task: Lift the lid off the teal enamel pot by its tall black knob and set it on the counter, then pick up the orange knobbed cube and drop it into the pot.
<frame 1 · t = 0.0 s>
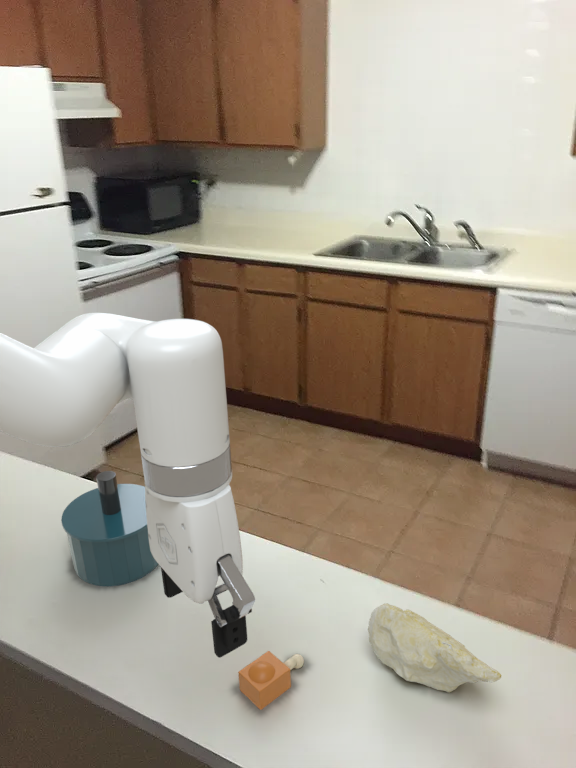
hand: (204, 618, 64), 20 cm above the countertop, tool pointing down, fingers open, 9 cm apart
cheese: (437, 675, 82), on the countertop
pot: (119, 558, 104), on the countertop
orange knobbed cube: (269, 687, 81), on the countertop
lid: (112, 512, 101), point 8 cm above the countertop, touching pot
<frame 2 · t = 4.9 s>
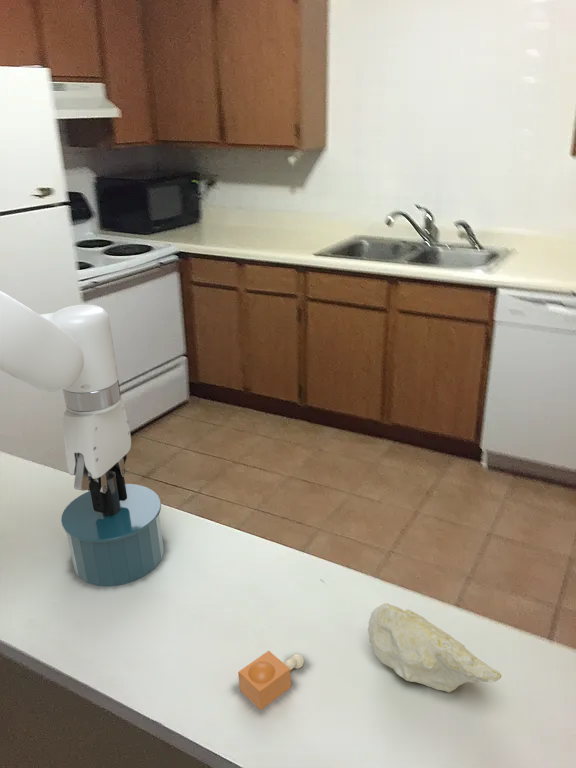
hand: (110, 504, 100), 10 cm above the countertop, tool pointing down, fingers closed on lid, 2 cm apart
lid: (112, 512, 101), point 9 cm above the countertop, touching gripper, pot
everything else where it was.
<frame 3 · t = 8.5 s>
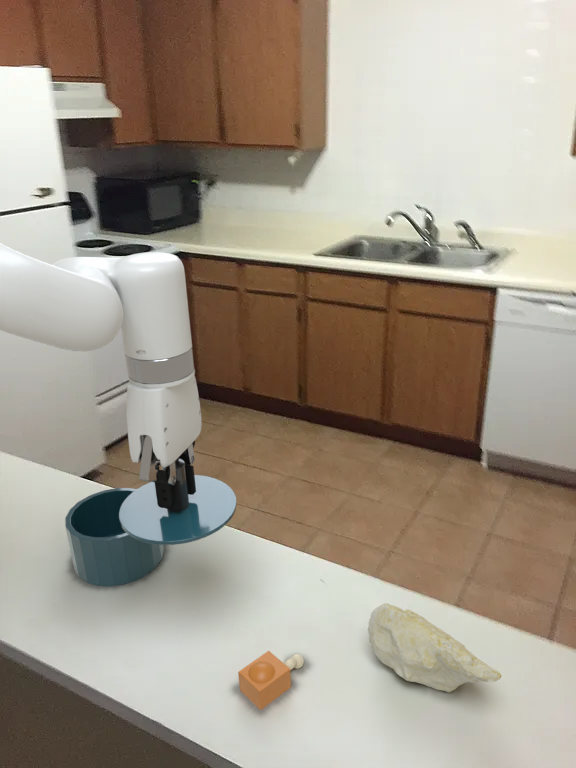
hand: (177, 498, 83), 20 cm above the countertop, tool pointing down, fingers closed on lid, 2 cm apart
lid: (178, 508, 84), point 18 cm above the countertop, touching gripper
everything else where it was.
when the fingers open (2 cm above the countertop, at t = 12.5 s): lid stays where it is, point 1 cm above the countertop.
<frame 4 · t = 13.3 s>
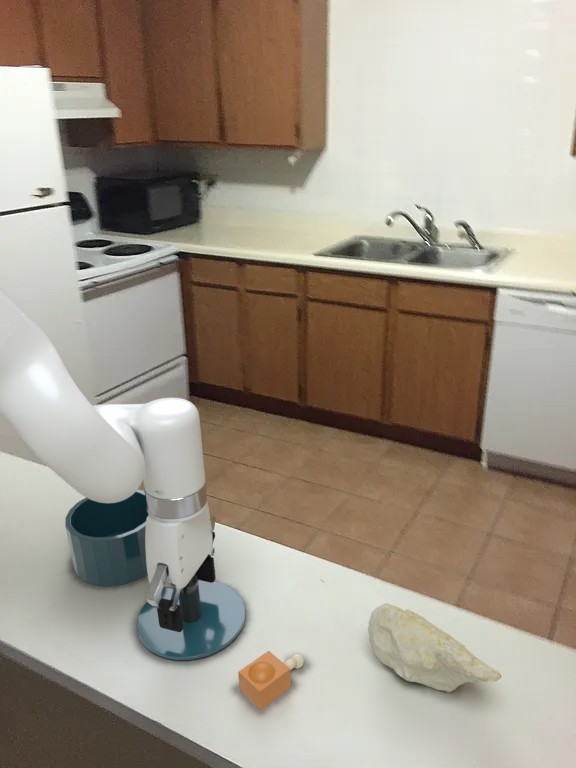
hand: (188, 602, 90), 3 cm above the countertop, tool pointing down, fingers open, 9 cm apart
lid: (191, 618, 91), point 1 cm above the countertop
everything else where it was.
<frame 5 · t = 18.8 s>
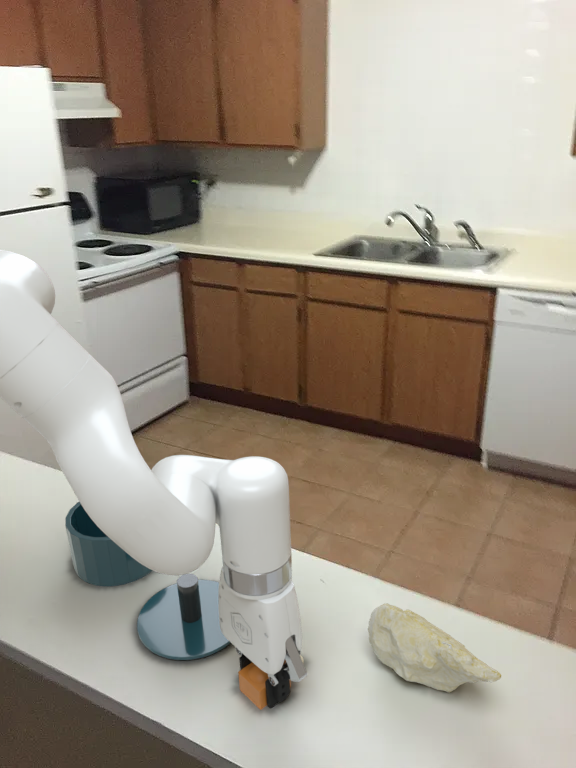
hand: (265, 686, 80), 1 cm above the countertop, tool pointing down, fingers closed on orange knobbed cube, 4 cm apart
orange knobbed cube: (269, 687, 81), on the countertop, touching gripper
everything else where it was.
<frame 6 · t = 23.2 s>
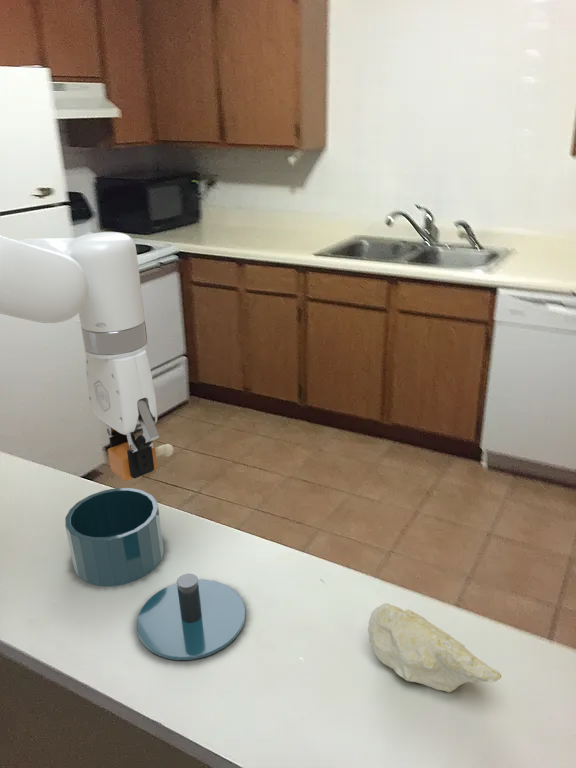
hand: (133, 465, 89), 21 cm above the countertop, tool pointing down, fingers closed on orange knobbed cube, 4 cm apart
orange knobbed cube: (138, 467, 89), point 21 cm above the countertop, touching gripper
everything else where it was.
when the fingers open (7 cm above the countertop, at t = 27.8 s): orange knobbed cube drops 6 cm, resting on pot.
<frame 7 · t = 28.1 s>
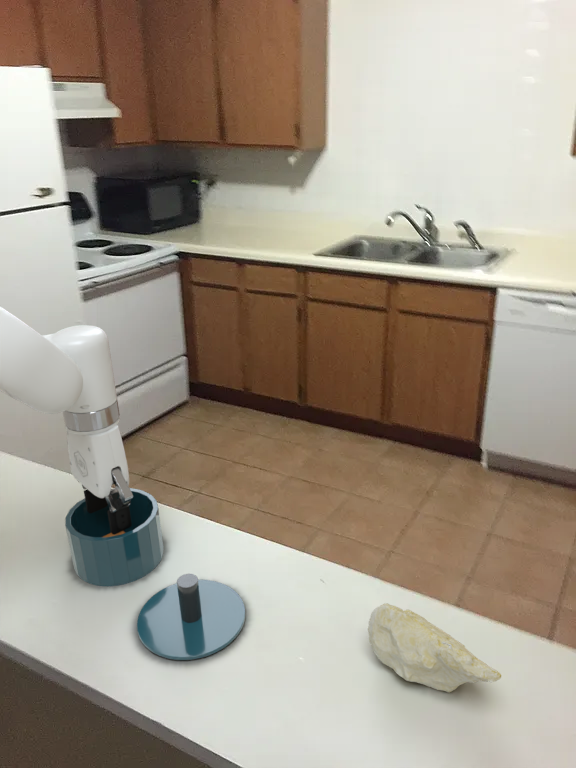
hand: (109, 518, 101), 8 cm above the countertop, tool pointing down, fingers open, 6 cm apart
orange knobbed cube: (119, 555, 104), point 1 cm above the countertop, touching pot
everything else where it was.
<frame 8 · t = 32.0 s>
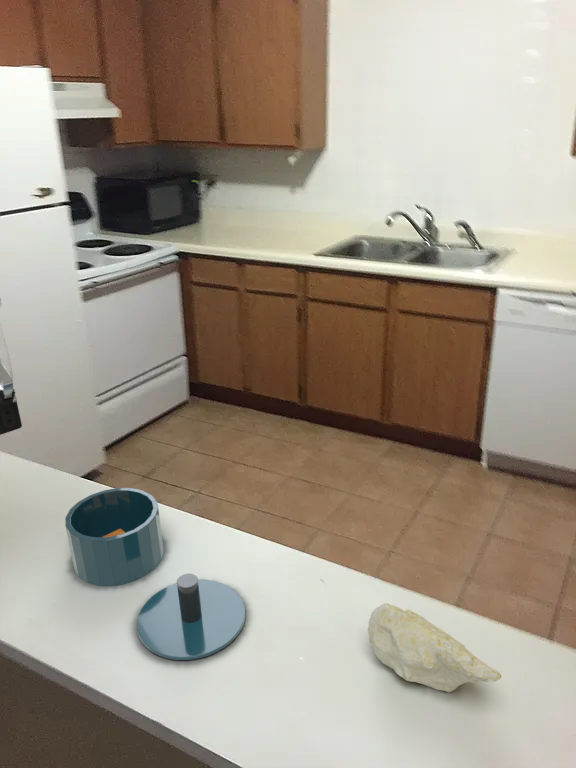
nothing on the countertop moved.
at the end: lid inside the target area on the countertop beside the pot (0.1 cm from its centre), point 0.6 cm above the countertop; orange knobbed cube inside the target area in the pot (0.0 cm from its centre), point 0.5 cm above the pot's base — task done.
